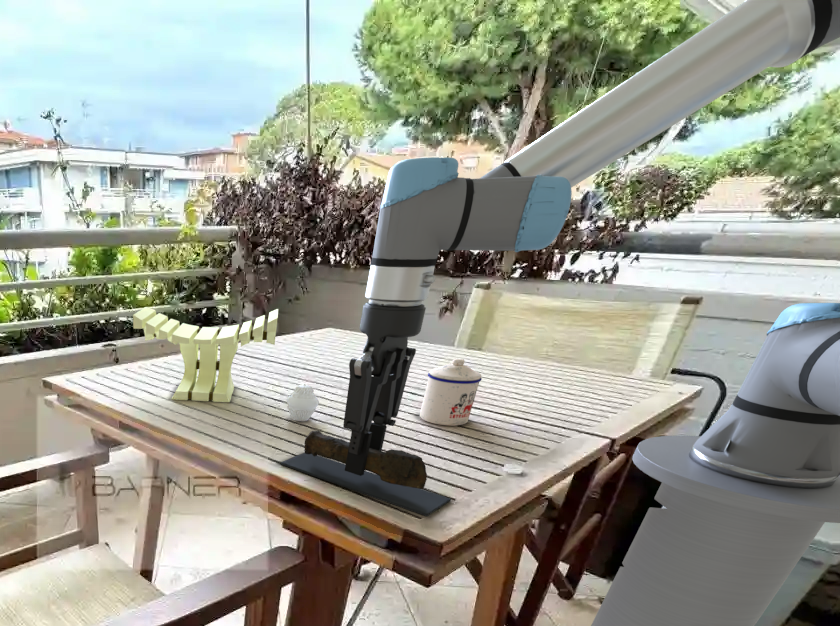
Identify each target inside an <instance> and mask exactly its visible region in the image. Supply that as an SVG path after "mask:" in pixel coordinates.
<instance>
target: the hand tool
mask: <svg viewBox="0 0 840 626" xmlns="http://www.w3.org/2000/svg"><path fill="white" fill-rule="evenodd" d="M349 443H350V441H347V440H345V439H342V438H339V437H334V436H331V435H327V434H324V433H323V432H321V430H311V431H310V432H309V434H308V435H307V436H306V437H305V439H304V449H303V451H304V452H303V453H305V454H312V455H313V456H316V455H318V456H321V457H324V458H327V459H330V460H333V461H336V462H340V463H343V464H346V460H347V454H348V449H349ZM422 458H423V457H422V456H419V455H416V454H415V453H414V454H413V453H410V452H407V451H405V450H402V449H392V448H390V449H388V450H387V451H383V450H382V451H379V450H376V449H372V448H369V451H368V456H367V461H366V466H365V471H367V472H370V473H374V474H377V475H379V476H380V479H381V480H382V481H384V482H388V483H391V484H397V485H402V486H407V487H413V488H419V489H425V487H426V483H427V480H428V473H427V468H426V467H427V466H426V464H425V462H424V460H423V459H422Z"/></svg>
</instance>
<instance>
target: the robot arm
mask: <svg viewBox="0 0 840 626" xmlns="http://www.w3.org/2000/svg"><path fill="white" fill-rule="evenodd" d="M837 39H840V0H744V1H743V2H741V3H740V4H739V5H737V6H735V7H734V8H732V9H731V10H730V11H728V12H727V13H725V14H724V15H722V16H720V17H719V18H718V19H716V20H715V21H713V22H712V23H710V24H709V25H707V26H706V27H704V28H702V29H701V30H700V31H698V32H696V33H695V34H694V35H692V36H691V37H689V38H687V39H686V40H685V41H683V42H681V43H680V44H678V45H677V46H676V47H674V48H673V49H671V50H669V51H668V52H667V53H665V54H664V55H662V56H661V57H659V58H658V59H656V60H655V61H653V62H652V63H650V64H649V65H647V66H646V67H645V68H642V69H641V70H640V71H638V72H636V73H635V74H633V75H632V76H631V77H629V78H628V79H626V80H625V81H623V82H621V83H620V84H619V85H617V86H616V87H614V88H612V89H611V90H610V91H608V92H607V93H605V94H604V95H602V96H601V97H599V98H598V99H596V100H595V101H593V102H591V104H589V105H587V106H585V107H584V108H582V109H581V110H579V111H578V112H577V113H575V114H573V115H572V116H571V117H569V118H568V119H566V120H565V121H563V122H562V123H560V124H558V125H557V126H556V127H554V128H552V129H551V130H550V131H548V132H546V133H545V134H544V135H541V137H539V138H538V139H536V140H534V141H533V142H531V143H530V144H528V145H527V146H525V147H524V148H522V149H521V150H520V151H518V152H517V153H515V154H514V155H512V156H511V157H509V158H507V159H506V160H504V162H503V163H501V164H499V165H498V166H496V167H494V168H493V169H491V170H490V171H488V172H487V173H485V174H484V175H482V176H481V177H479V178H470V177H459V174H460V173H459V172H458V171H459V161H458V159H457V158H455V157H448V156H447V157H437V156H435V157H434V156H433V157H432V156H429V157H417V158H407V159H402V160H399V161H397V162H395V163H394V164H393V165H392V167H390V168H389V170H388V173H387V178H386V183H385V187H384V191H383V196H382V200H381V204H380V205H379V213H378V220H377V226H376V231H375V232H376V234H375V239H374V243H373V244H374V245H373V251H372V256H371V261H370V266H369V267H370V269H369V272H368V279H367V282H366V288H365V292H364V297H365V298H366V299H367V300H368V301H367V302H365V304H363V306H362V310H361V316H360V323H359V331H360V332H361V334H365V335H366V336H367V339H366V342H365V344H364V347H363V348H362V349H363V350H362V355H361V356H360V357H359V358H355V357H353V358H351V359H350V360H349V362H348V363H349V364H348V368H349V369H348V370H349V381H348V388H347V395H346V403H345V410H344V417H343V424H342V425H343V426H342V427H343V428H344V429H346V430H350V431H351V434H350V439H349V442H350V443H349V449H348V454H347V460H346V465H345V471H348V472H351V473H353V474H356V475H359V476H362V475H364V471H366V470H365V466H366V461H367V456H368V451H369V448H372V449H376V450H379V451H383V447H384V441H385V437H386V433H387V428H388V426H391V427H394V426H395V424H396V419H395V418H397V416H398V414H399V411H400V407H401V403H402V399H403V396H404V393H405V392H404V391H405V388H406V384H407V380H408V376H409V373H410V369H411V365H412V363H413V360H414V358H415V355H416V353H417V349H416V348H415V347H409V345H408V344H409V338H412V337H416V336H418V335H419V334H420V333H421V331H422V327H423V322H424V318H425V315H426V309H427V307H425V304H423V303H422V302H424V301H426V300H427V299H428V298H429V294H430V289H431V286H432V284H434V283H435V282H436V276H435V275H434V272H435V267H436V265H437V260H438V257H439V255H440V254H439V253H440V251H486V252H487V251H494V252H495V251H499V252H501V251H502V252H503V251H506V252H507V251H508V252H509V251H510V252H511V251H512V252H513V251H514V252H515V253H519V252H521V251H539V250H543V249H545V248H548V246H550V245H551V244H552V243H553V242H554V241H555V239H557V237H558V236H559V234H560V232H561V231H562V229H563V227H564V225H565V222H566V219H567V217H568V215H569V211H570V207H571V203H572V196H573V195H572V193H573V191H572V188H573V187H575V186H576V185H578V184H580V183H581V182H583V181H584V180H586V179H588V178H590V177H591V176H593V175H594V174H596V173H598V172H599V171H601V170H602V169H604V168H606V167H608V166H609V165H611V164H613V163H614V162H616V161H617V160H619V159H621V158H622V157H624V156H625V155H627V154H629V153H630V152H632V151H634V150H636V149H637V148H638V147H640V146H642V145H643V144H645V143H647V142H649V141H650V140H651V139H654V138H655V137H656V136H659V135H660V134H661V133H663V132H665V131H666V130H668V129H670V128H671V127H673V126H674V125H677V124H678V123H680V122H682V121H683V120H685V119H687V118H688V117H690V116H691V115H693V114H694V113H696V112H698V111H699V110H701V109H702V108H704V107H706V106H707V105H710V104H711V103H712V102H714V101H715V100H717V99H719V98H721V97H722V96H724V95H725V94H727V93H729V92H730V91H732V90H733V89H735V88H737V87H738V86H740V85H742V84H743V83H745V82H746V81H748V80H750V79H751V78H753V77H755V76H757V75H758V74H760V73H762V72H763V71H764V70H766V69H768V68H784V67H788V66H789V65H792V64H794V63H795V62H797V61H799V60H800V59H802V58H804V57H806V56H807V55H808V54H810V53H811V52H814V51H815V50H817V49H818V48H820V47H822V46H825V45H827V44H829V43H831V42H833V41H835V40H837ZM392 418H394V419H392ZM700 436H701V437H700V438H699V439H698V440H697V441H696V442H695V443H694V445H693V447H692V449H691V451H690V453H689V457H690V458H691V459H692V460H693V461H694V462H696V463H697V464H699V465H701V466H703V467H705V468H708V469H710V470H713V471H716V472H718V473H721V474H725V475H728V476H731V477H735V478H739V479H743V480H747V481H752V482H756V483H761V484H767V485H773V486H780V487H788V488H801V489H818V488H826V487H830V486H832V485H833V484H834V482H835V481H836V479H837V478H838V476H839V475H840V302H801V303H795V304H792V305H790V306H788V307H786V308H785V309H783V310H782V311H781V313H780V314H779V316H778V317H777V318H776V320H775V321H774V322H773V325H771V328H769V330H768V331H767V332H766V338H765V339H764V342H763V343H762V345H761V347H760V348H759V351H758V353H757V355H756V357H755V359H754V361H753V363H752V365H751V367H750V368H749V370H748V372H747V375H746V376H745V377H744V380H743V382H742V384H741V386H740V388H739V390H738V392H737V394H736V396H735V398H734V400H733V401H732V404H731V405H730V407H729V408H728V410H727V411H725V412H724V414H723V415H721V416H720V417H719V418H718V419H717V421H715V422H714V423H713V424H712V425H711V426H710V427H709V428H708V429H706V431H705V432H704V433H702V435H700Z"/></svg>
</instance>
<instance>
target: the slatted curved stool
mask: <svg viewBox="0 0 840 626" xmlns="http://www.w3.org/2000/svg"><path fill="white" fill-rule="evenodd" d="M265 318H266V315H265V314H263V315H261V316H258V317H256V318H255V321H254V325H252V323H253V319H250V320H248V321H245V322H244V321H243V324H242V325H241V328H240V324H234V325H227V326H222V328H220V326H217V327H216V326H215V327H214V326H211V327H210V326H202V328H200V326H198V325H193V324H188V323H185V322H183V323H181V324H180V321H179V320H177V319H174V318H170V319H169V317H168V315H165V314H164V313H160V312H159V313H157V310H156V309H154V308H151V307H150V306H145V307H143V308H141V309H140V310H138V311H137V312H135V313H134V314H132V324H133V325H132V327H133V330H134V329H135V330H137V329H138V330H141V329H142V330H143V334H144V340H145V342H147V341H152V340H154V339H156V340H167V341H168V342H170V343H171V344H174V345H176V346H177V345H179V352H180V354H181V357H182V360H183V365H184V371H183V372H184V373H183V376H182V379H181V380H180V383H179V385H178V386H177V388H176V389H175V392H174V393H173V395H172V397H171V400H174V401H175V400H177V401H178V400H180V401H188V400H191V401H197V402H200V401H201V402H209V401H212V402H213V403H214V402H215V403H230V402H231V399H232V396H233V393H234V389H235V384H234V381H233V377H232V364H233V361H234V359H235V356H236V355H237V351H238V348H239V342H240V347H243V346H244V345H247V344H250V342H251V341H253V343H263V341H266V344H270V345H273V346H275V345H276V335H277V328H278V318H279V308H276V309H274V310H271V311H270V312H269V313H268V318H267V327H266V329H265ZM252 327H253V329H252ZM218 354H219V359H218ZM217 371H218V375H217Z"/></svg>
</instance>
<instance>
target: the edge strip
mask: <svg viewBox="0 0 840 626" xmlns="http://www.w3.org/2000/svg"><path fill="white" fill-rule="evenodd" d="M280 465H281V466H284V467H287V468H290V469H292V470H295V471H297V472H301V473H303V474H307V475H308V476H313V477H315V478H317V479H320V480H323V481H327V482H330V483H332V484H335V485H337V486H340V487H343V488H346V489H349V490H352V491H354V492H357V493H360V494H364V495H366V496H368V497H372V498H374V499H377V500H379V501H383V502H386V503H388V504H391V505H393V506H397V507H399V508H401V509H405V510H408V511H411V512H414V513H417V514H419V515H422V516H425V517H428V516H430V515H431V514H432V513H434V512H436V511H437V510H439V509H440V508H442V507H443V506H445V505H446V504H448V503H449V502H451V500H452V498H450V497H447V496H445V495H441V494H438V493H435V492H432V491H429V490H426V489H424V488H422V489H419V488H413V487H407V486H402V485H397V484H391V483H388V482H384V481H382V480H381V479H380V476H379V475H377V474H375V473H372V472H370V471H367V470H365V471H364V475H362V476H359V475H356V474H353V473H351V472H348V471H345V465H346V464H343V463H341V462H338V461H335V460H332V459H328V458H325V457H322V456H318V455H316V456H313V455H312V454H305V452H303V453H300V454H298V455H295V456H293V457H290V458H288V459H286V460H282V461H281V462H280Z"/></svg>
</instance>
